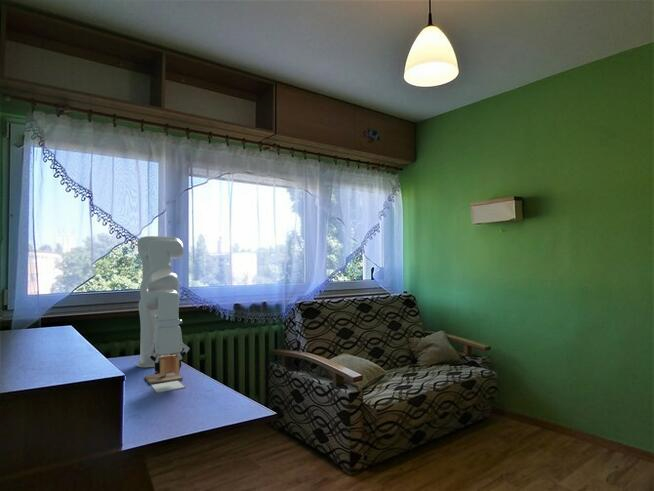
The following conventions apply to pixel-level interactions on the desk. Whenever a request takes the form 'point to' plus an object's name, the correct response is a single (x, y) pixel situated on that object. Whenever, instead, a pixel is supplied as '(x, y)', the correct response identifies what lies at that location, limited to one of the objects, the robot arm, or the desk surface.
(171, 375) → the stand
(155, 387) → the pad
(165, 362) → the c link
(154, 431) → the desk surface
